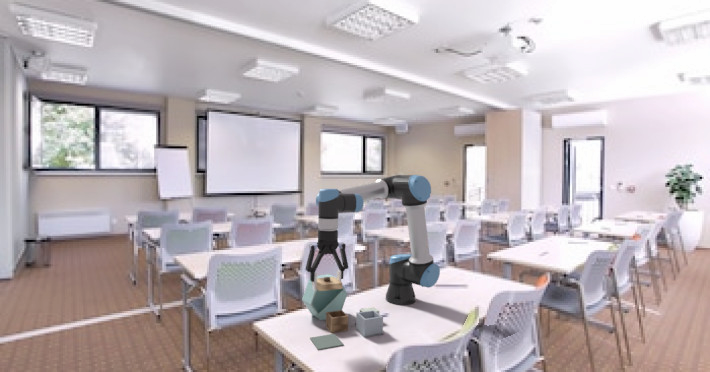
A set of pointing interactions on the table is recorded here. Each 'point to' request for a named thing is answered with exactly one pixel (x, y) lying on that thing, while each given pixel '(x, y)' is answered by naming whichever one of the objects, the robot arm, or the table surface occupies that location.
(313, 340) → the felt mat
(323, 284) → the lid
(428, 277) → the robot arm
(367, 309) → the pale green block
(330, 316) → the walnut box
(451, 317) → the table surface
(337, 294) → the planter
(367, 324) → the blue-grey box
